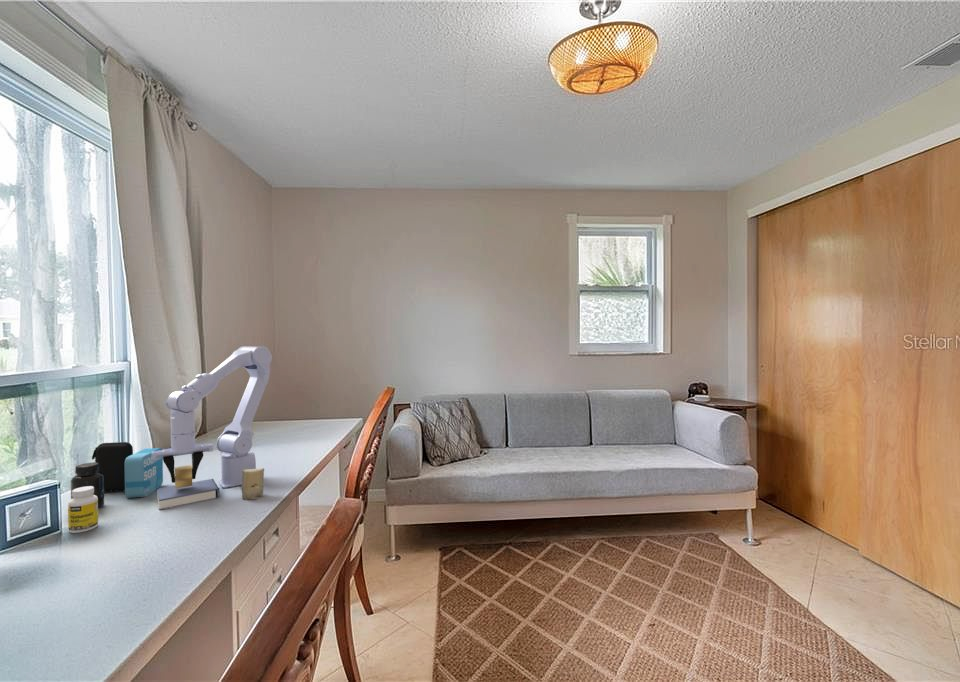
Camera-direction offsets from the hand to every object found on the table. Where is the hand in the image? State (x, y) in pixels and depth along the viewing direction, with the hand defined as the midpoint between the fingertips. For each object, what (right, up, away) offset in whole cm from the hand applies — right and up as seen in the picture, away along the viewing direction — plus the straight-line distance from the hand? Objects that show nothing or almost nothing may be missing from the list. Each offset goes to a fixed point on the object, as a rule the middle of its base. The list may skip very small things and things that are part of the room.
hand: (183, 480), depth 127 cm
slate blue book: (+1, -6, +1) cm, 6 cm away
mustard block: (0, -1, 0) cm, 1 cm away
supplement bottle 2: (-11, -6, -19) cm, 23 cm away
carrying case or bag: (-26, -6, +6) cm, 27 cm away
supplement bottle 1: (-21, -6, -7) cm, 23 cm away
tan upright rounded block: (+19, -6, +1) cm, 20 cm away
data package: (-16, -6, +6) cm, 18 cm away
